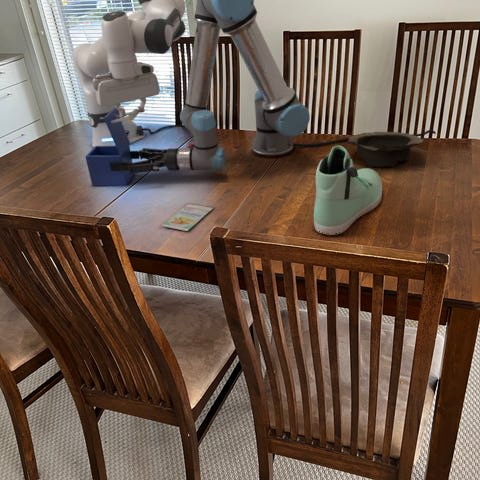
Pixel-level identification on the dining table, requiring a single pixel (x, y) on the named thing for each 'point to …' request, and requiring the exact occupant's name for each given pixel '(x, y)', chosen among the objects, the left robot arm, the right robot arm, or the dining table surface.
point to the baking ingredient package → (187, 217)
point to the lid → (119, 128)
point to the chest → (108, 166)
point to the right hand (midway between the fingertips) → (115, 160)
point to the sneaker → (343, 192)
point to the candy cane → (191, 145)
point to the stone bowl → (384, 147)
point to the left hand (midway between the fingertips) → (132, 114)
